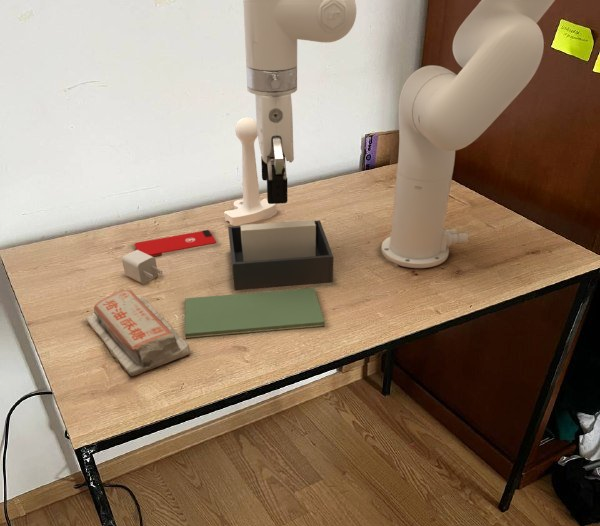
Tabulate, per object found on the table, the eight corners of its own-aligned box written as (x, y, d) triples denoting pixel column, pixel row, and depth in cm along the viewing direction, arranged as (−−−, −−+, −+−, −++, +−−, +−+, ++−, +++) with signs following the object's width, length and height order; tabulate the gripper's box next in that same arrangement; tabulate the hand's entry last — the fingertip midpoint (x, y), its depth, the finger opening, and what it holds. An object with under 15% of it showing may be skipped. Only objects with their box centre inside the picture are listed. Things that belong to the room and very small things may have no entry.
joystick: (236, 229, 125) (227, 126, 111) (216, 217, 129) (206, 116, 116) (280, 214, 130) (277, 114, 116) (259, 203, 134) (254, 105, 121)
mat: (314, 292, 106) (314, 287, 106) (324, 327, 98) (324, 321, 98) (186, 303, 104) (185, 298, 103) (185, 339, 96) (185, 333, 96)
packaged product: (188, 328, 90) (124, 353, 86) (192, 355, 93) (131, 379, 89) (137, 277, 101) (78, 297, 97) (142, 303, 104) (86, 322, 100)
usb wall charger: (143, 268, 113) (139, 248, 110) (168, 280, 110) (164, 260, 107) (125, 277, 111) (121, 257, 108) (150, 289, 107) (146, 269, 105)
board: (313, 260, 114) (313, 219, 108) (315, 266, 112) (315, 225, 107) (243, 265, 112) (240, 224, 107) (244, 271, 111) (241, 230, 106)
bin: (319, 247, 119) (320, 220, 115) (332, 284, 108) (333, 256, 104) (230, 253, 117) (228, 226, 113) (234, 292, 106) (232, 264, 103)
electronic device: (139, 258, 116) (217, 244, 120) (139, 256, 115) (216, 241, 119) (134, 245, 120) (209, 231, 124) (133, 242, 119) (208, 229, 123)
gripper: (305, 94, 86) (303, 211, 97) (289, 64, 98) (290, 170, 110) (251, 95, 85) (256, 214, 96) (242, 65, 98) (248, 172, 109)
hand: (274, 190), depth 103 cm, fingers open, 9 cm apart
